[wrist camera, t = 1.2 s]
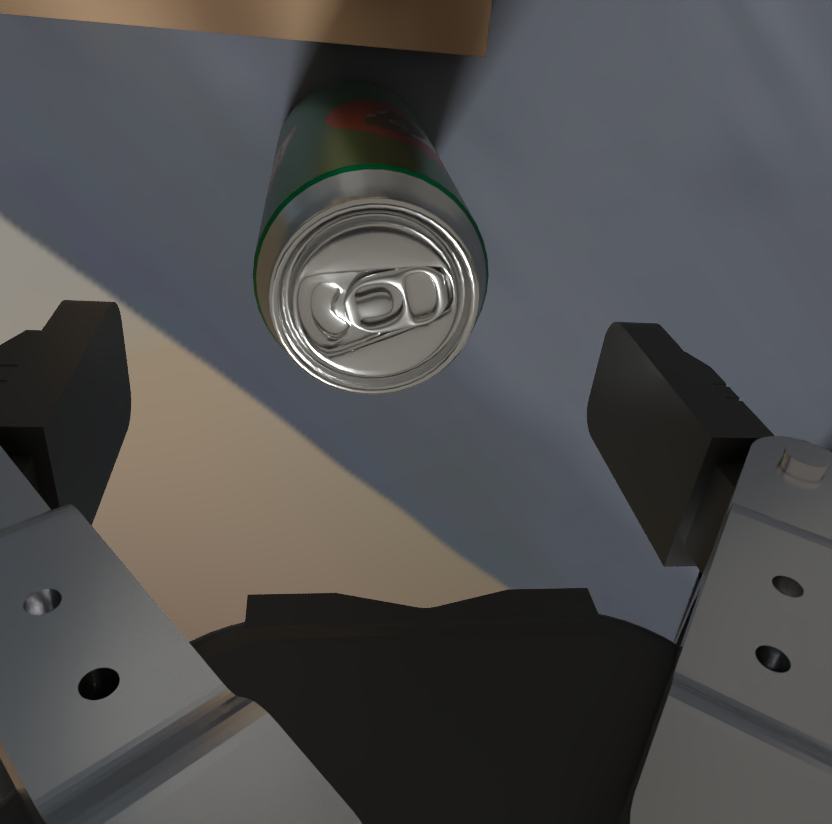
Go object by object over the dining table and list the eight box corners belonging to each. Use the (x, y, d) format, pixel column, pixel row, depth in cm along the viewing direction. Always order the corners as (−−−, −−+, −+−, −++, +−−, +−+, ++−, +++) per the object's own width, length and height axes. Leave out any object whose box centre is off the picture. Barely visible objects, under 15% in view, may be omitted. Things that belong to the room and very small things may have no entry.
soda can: (257, 97, 24) (212, 212, 14) (411, 62, 24) (480, 151, 14) (300, 245, 26) (289, 432, 16) (438, 214, 26) (512, 383, 16)
